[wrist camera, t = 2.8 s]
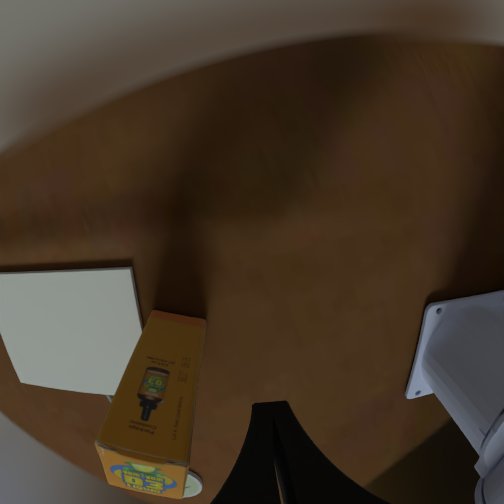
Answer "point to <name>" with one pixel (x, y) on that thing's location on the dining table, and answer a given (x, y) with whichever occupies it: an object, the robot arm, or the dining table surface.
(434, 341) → the robot arm
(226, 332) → the dining table surface
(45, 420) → the dining table surface
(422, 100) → the dining table surface
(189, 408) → the supplement box
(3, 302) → the mat
